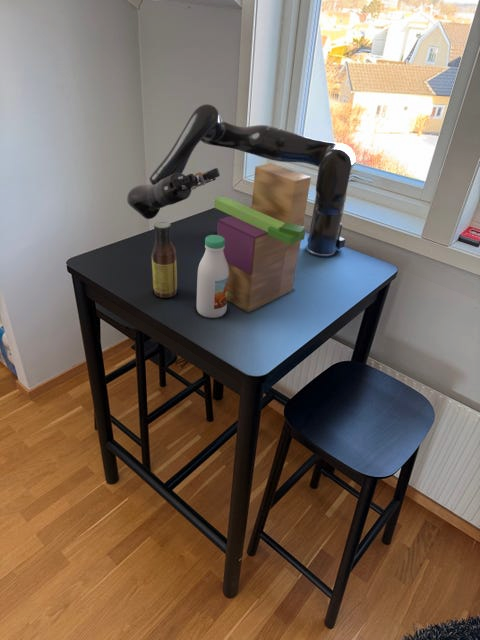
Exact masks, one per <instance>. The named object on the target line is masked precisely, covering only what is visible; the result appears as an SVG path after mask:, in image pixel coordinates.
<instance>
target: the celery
mask: <svg viewBox="0 0 480 640" xmlns="http://www.w3.org/2000/svg"><path fill="white" fill-rule="evenodd" d="M213 207H214V209H215V210H219V212H223V213H224V214H227V215H229V216H233V217H236V218H238V219H240V220H242V221H244V222H247V223H249V224H251V225H253V226H255V227H257V228H260V229H262V230H264V231H266V232H268V233H267V234H268V235H270V236H272V237H274V238H276V239H278V240H281V241H283V242H285V243H287V244H289V245H291V244H293V243H296V242H298V241H300V242H301V241H303V240H305V236H306V226H304V225H303V226H299V225H296V224H292V223H288V222H286V223H284V222H281V221H279V220H277V219H275V218H272V217H270V216H268V215H265V214H263V213H261V212H258V211H256V210H254V209H252V208H251V207H249V206H247V205H244V204H242V203H240V202H238V201H235V200H234V199H231V198H229V197H226V196H224V195H223V196H221V197H217V198H214V205H213Z"/></svg>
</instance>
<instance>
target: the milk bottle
mask: <svg viewBox="0 0 480 640" xmlns="http://www.w3.org/2000/svg"><path fill="white" fill-rule="evenodd" d="M224 245H225V239H224V238H223V237H222V236H219V235H217V234H210V235H207V236H206V237H205V238H204V248H205V251H204V253H203V255H202V257H201V259H200V262H199V264H198V267H197V277H196V311H197V313H198V314H199V315H200V316H203V317H205V318H208V319H209V318H210V319H216V318H219V317H222V316H224V315H225V314H226V312H227V309H228V300H227V298H228V284H229V267H228V263H227V261H226V258H225V256H224V252H223V249H224Z"/></svg>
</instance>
